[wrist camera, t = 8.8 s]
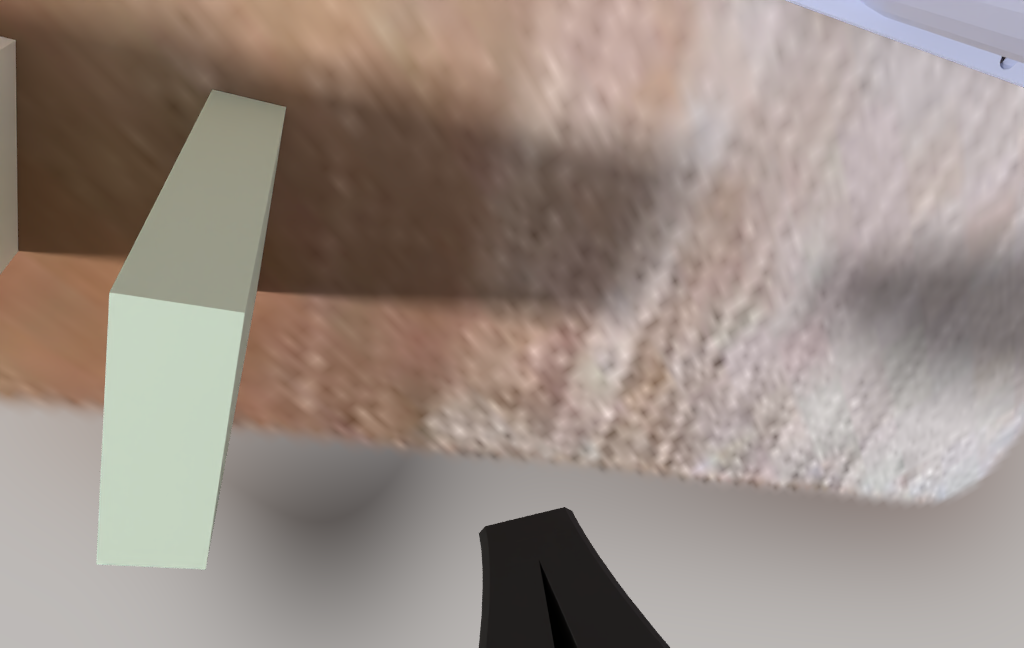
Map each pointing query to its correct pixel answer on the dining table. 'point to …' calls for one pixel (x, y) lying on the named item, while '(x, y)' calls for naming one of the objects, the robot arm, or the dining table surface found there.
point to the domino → (8, 153)
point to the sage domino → (184, 339)
